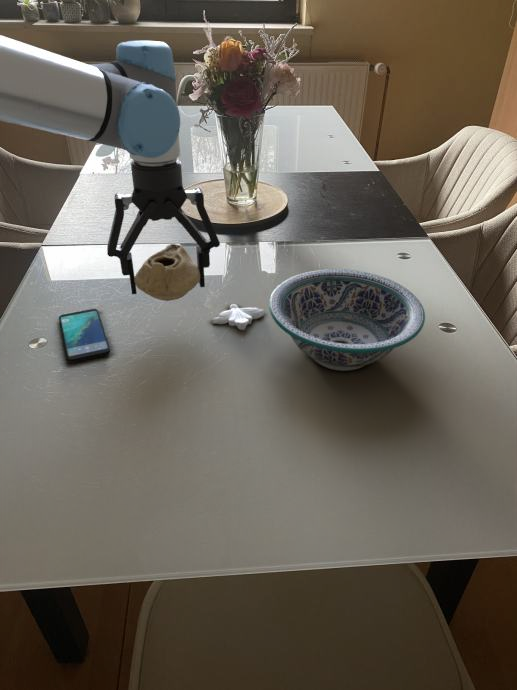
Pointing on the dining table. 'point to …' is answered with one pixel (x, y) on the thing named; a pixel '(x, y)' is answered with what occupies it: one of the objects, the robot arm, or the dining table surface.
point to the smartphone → (83, 335)
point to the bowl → (346, 316)
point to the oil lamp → (168, 274)
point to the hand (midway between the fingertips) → (168, 286)
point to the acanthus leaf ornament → (238, 316)
